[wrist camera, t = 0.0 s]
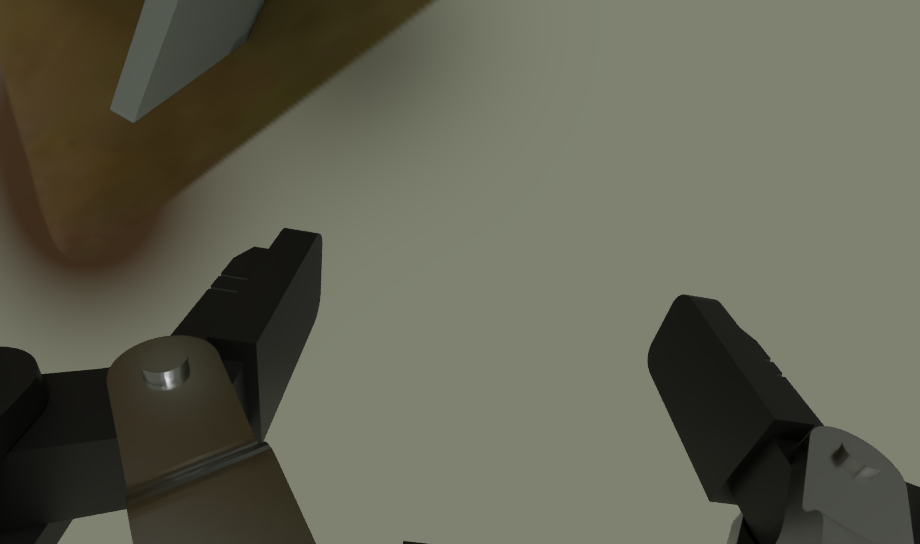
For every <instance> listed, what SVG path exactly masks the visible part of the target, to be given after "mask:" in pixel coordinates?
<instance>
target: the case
mask: <svg viewBox="0 0 920 544" xmlns="http://www.w3.org/2000/svg"><path fill="white" fill-rule="evenodd" d="M264 2H265V0H145V3H144V6H143V9H142V12H141V15H140V18H139V21H138V24H137V27H136V30H135V33H134V36H133V40H132V43H131V46H130V49H129V52H128V55H127V58H126V61H125V64H124V67H123V70H122V73H121V76H120V79H119V83H118V86H117V89H116V92H115V95H114V98H113V101H112V104H111V107H110V110H112V111H114V112H115V113H117V114H119V115H120V116H122V117H124V118H125V119H127V120H129V121H130V122H132V123H134V122H136V121H137V120H138V119H140V118H141V117H143V116H144V115H145V114H147V113H148V112H150V111H151V110H152V109H154V108H155V107H156V106H158V105H159V104H161V103H162V102H163V101H165V100H166V99H168V98H169V97H170V96H172V95H173V94H174V93H176V92H177V91H179V90H180V89H181V88H183V87H184V86H186V85H187V84H188V83H190V82H191V81H192V80H194V79H195V78H197V77H198V76H199V75H201V74H202V73H204V72H205V71H206V70H208V69H209V68H211V67H212V66H213V65H215V64H216V63H217V62H219V61H220V60H222V59H223V58H224V57H226V56H227V55H229V54H230V53H231V52H233V51H234V50H235V49H237V48H238V47H240V46H241V45H242V44H244V43H245V42H246V40H247V38H248V36H249V34H250V32H251V29H252V27H253V25H254V23H255V21H256V19H257V17H258V15H259V13H260V10H261V8H262V6H263V4H264Z"/></svg>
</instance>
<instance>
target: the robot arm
mask: <svg viewBox="0 0 920 544" xmlns="http://www.w3.org/2000/svg"><path fill="white" fill-rule="evenodd" d="M321 264H322V236H321V234H318V233H312V232H307V231H300V230H294V229H288V228H284V229H283V230H282V231H281V232H280V234H279V235H278V236H277V238H276V239H275V241H274V242H273V244H272V245H271V246H270V248H269V249H266V248H259V247H253V248H251V249H249V250H247V251H245V252H244V253H242V254H240V255H238V256H236V257H234V258H233V259H232V261H231V262H230V263H229V264H228V266H227V267H226V268H225V269H224V270H223V272H222V273H221V276H219V277H218V278H217V279H216V280H215V281H214V283H213V284H212V285H211V289H208V290H207V291H206V292H205V294H204V295H203V296H202V297H201V299H200V300H199V301H198V302H197V303H196V305H195V306H194V307H193V308H192V310H191V311H190V312H189V313H188V315H187V316H186V317H185V318H184V320H183V321H182V322H181V323H180V324H179V326H178V327H177V328H176V329H175V331H174V332H173V333H172V334H171V336H164V337H159V338H155V339H151V340H147V341H145V342H142V343H140V344H138V345H136V346H134V347H132V348H130V349H128V350H127V351H125V352H124V353H123V354H121V355H120V356H119V357H118V358H117V359H116V360H115V361H114V362H113V364H112V365H111V367H109V368H102V369H93V370H82V371H71V372H61V373H49V374H41V373H40V370H39V367H38V365H37V362H36V360H35V358H34V357H32V356H31V355H30V354H29V353H27V352H25V351H23V350H20V349H17V348H10V347H0V544H57V543H58V541H59V540H60V538H61V537H62V535H63V534H64V532H65V531H66V529H67V528H68V526H69V524H70V523H71V521H72V520H73V519H75V518H80V517H86V516H91V515H96V514H102V513H107V512H113V511H118V510H124V509H127V513H128V519H129V524H130V530H131V535H132V540H133V544H316V543H315V541H314V539H313V537H312V534H311V532H310V530H309V528H308V526H307V523H306V521H305V519H304V517H303V515H302V512H301V510H300V508H299V506H298V504H297V501H296V499H295V497H294V495H293V493H292V491H291V488H290V486H289V484H288V482H287V480H286V478H285V476H284V473H283V471H282V469H281V467H280V464H279V462H278V460H277V458H276V456H275V454H274V452H273V450H272V448H271V447H270V446H269V444H268V443H267V442H263V441H264V439H265V436H266V434H267V432H268V429H269V427H270V425H271V422H272V420H273V417H274V415H275V413H276V411H277V408H278V406H279V404H280V401H281V399H282V397H283V394H284V392H285V390H286V387H287V385H288V382H289V380H290V378H291V376H292V373H293V371H294V369H295V366H296V364H297V362H298V359H299V357H300V355H301V353H302V350H303V348H304V346H305V343H306V341H307V339H308V336H309V334H310V332H311V329H312V327H313V325H314V322H315V319H316V316H317V312H318V308H319V303H320V294H321V266H322V265H321ZM648 368H649V372H650V374H651V376H652V379H653V381H654V383H655V385H656V387H657V389H658V391H659V394H660V395H661V398H662V400H663V402H664V404H665V406H666V408H667V411H668V413H669V415H670V417H671V419H672V422H673V423H674V426H675V428H676V430H677V432H678V434H679V437H680V438H681V441H682V443H683V445H684V447H685V449H686V452H687V454H688V456H689V458H690V460H691V462H692V465H693V467H694V469H695V471H696V473H697V475H698V477H699V479H700V482H701V484H702V486H703V488H704V490H705V492H706V495H707V497H708V499H709V501H711V502H719V503H727V504H735V505H738V506H739V508H740V510H741V513H740V514H739V515H738V516H737V517H736V518H735V520H734V521H733V523H732V526H731V530H730V533H729V537H728V541H727V544H920V487H918V486H915V485H912V484H910V483H907V482H905V481H904V479H903V477H902V475H901V474H900V472H899V471H898V469H897V468H896V467H895V466H894V465H893V464H892V463H891V462H890V461H889V460H888V459H887V458H886V457H885V456H884V455H883V454H882V453H881V452H879V451H878V450H877V449H876V448H874V447H873V446H872V445H870V444H869V443H867V442H865V441H864V440H862V439H860V438H859V437H857V436H855V435H853V434H850V433H849V432H846V431H843V430H841V429H838V428H834V427H829V426H824V425H823V424H822V423H821V421H820V420H819V419H818V418H817V417H816V415H815V414H814V413H813V411H812V410H811V409H810V408H809V406H808V405H807V404H806V403H805V401H804V400H803V399H802V398H801V396H800V395H799V394H798V393H797V391H796V390H795V389H794V388H793V386H792V385H791V384H790V383H789V381H788V380H787V379H786V377H782V372H781V371H780V370H779V369H778V367H777V366H776V365H775V364H774V363H773V362H770V357H769V356H768V355H767V354H766V352H765V351H764V350H763V349H762V347H761V346H760V345H759V344H758V342H757V341H756V340H754V339H753V338H752V337H751V336H749V335H748V334H747V333H746V332H744V331H743V330H742V329H741V328H740V327H739V326H738V325H737V324H736V322H735V321H734V320H733V318H732V317H731V316H730V315H729V313H728V312H727V311H726V310H725V308H724V307H723V306H722V304H721V303H720V302H719V301H717V300H715V299H708V298H703V297H697V296H690V295H680V296H678V297H677V298H676V299H675V301H674V302H673V304H672V306H671V308H670V309H669V311H668V313H667V315H666V317H665V319H664V321H663V323H662V325H661V327H660V328H659V330H658V332H657V334H656V336H655V338H654V340H653V342H652V344H651V346H650V349H649V353H648ZM403 544H425V543H416V542H406V541H403Z"/></svg>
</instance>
